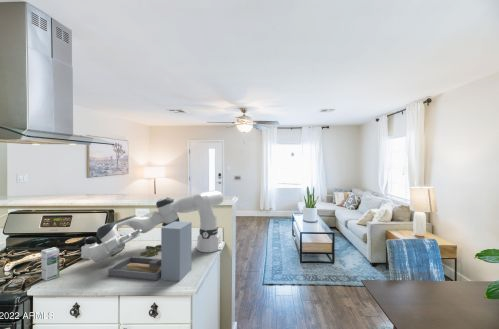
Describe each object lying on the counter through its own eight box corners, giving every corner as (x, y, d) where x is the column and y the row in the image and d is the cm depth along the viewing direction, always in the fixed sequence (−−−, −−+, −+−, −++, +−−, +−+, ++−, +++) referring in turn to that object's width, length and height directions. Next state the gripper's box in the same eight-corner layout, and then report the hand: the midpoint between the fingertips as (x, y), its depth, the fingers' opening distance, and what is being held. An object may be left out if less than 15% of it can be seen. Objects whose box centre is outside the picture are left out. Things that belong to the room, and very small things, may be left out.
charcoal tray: (130, 262, 150) (130, 256, 150) (173, 266, 145) (173, 260, 145) (108, 276, 132) (108, 269, 132) (156, 281, 127) (156, 273, 127)
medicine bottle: (100, 255, 160) (100, 236, 160) (89, 259, 153) (89, 239, 153) (91, 254, 162) (91, 235, 162) (81, 258, 156) (81, 238, 156)
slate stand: (174, 268, 142) (174, 221, 142) (191, 269, 141) (191, 222, 140) (161, 279, 129) (161, 227, 128) (179, 281, 127) (180, 228, 126)
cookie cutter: (147, 247, 176) (147, 245, 176) (165, 247, 177) (165, 244, 177) (138, 257, 158) (138, 254, 158) (158, 257, 159) (158, 253, 159)
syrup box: (46, 281, 126) (46, 251, 126) (41, 278, 129) (41, 249, 129) (59, 276, 131) (59, 248, 131) (54, 274, 134) (54, 246, 134)
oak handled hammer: (131, 266, 143) (131, 256, 142) (161, 269, 139) (161, 259, 139) (125, 270, 138) (125, 260, 138) (156, 273, 134) (156, 262, 134)
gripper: (130, 243, 151) (148, 232, 149) (104, 255, 131) (125, 244, 129) (125, 233, 151) (144, 223, 149) (99, 244, 131) (120, 232, 129)
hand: (135, 232), depth 139 cm, fingers open, 8 cm apart
